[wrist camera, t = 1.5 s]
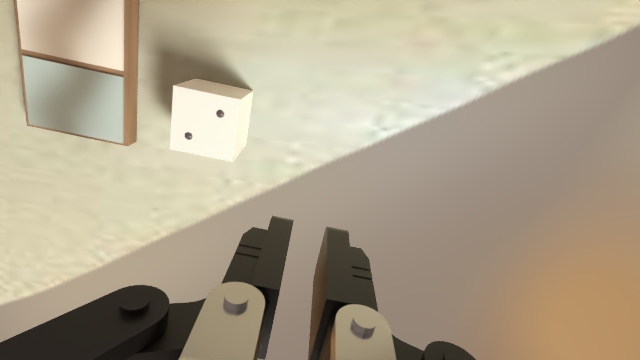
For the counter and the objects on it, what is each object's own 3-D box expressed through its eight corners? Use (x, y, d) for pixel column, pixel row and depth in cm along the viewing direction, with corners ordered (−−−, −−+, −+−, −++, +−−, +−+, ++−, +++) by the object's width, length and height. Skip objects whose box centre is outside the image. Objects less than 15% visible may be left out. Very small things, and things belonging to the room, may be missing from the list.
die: (253, 90, 25) (240, 100, 21) (246, 144, 26) (232, 162, 23) (195, 77, 25) (170, 85, 21) (191, 133, 26) (167, 149, 22)
